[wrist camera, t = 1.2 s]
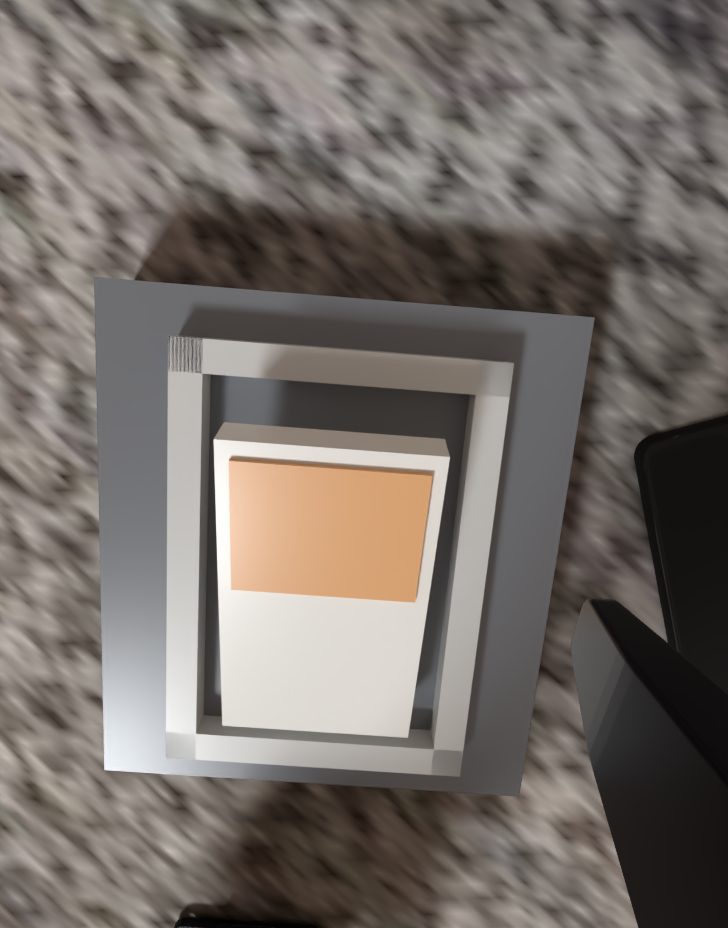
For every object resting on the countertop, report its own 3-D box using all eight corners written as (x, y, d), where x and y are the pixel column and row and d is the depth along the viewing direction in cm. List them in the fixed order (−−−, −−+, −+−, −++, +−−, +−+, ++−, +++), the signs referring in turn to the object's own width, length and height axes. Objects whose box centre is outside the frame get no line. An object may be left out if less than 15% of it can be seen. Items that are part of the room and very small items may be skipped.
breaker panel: (500, 741, 25) (527, 822, 21) (135, 717, 25) (89, 795, 21) (562, 318, 21) (611, 316, 17) (131, 284, 21) (75, 273, 17)
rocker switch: (406, 708, 21) (408, 741, 19) (230, 696, 21) (221, 729, 19) (445, 439, 16) (450, 459, 15) (224, 422, 16) (212, 441, 15)
